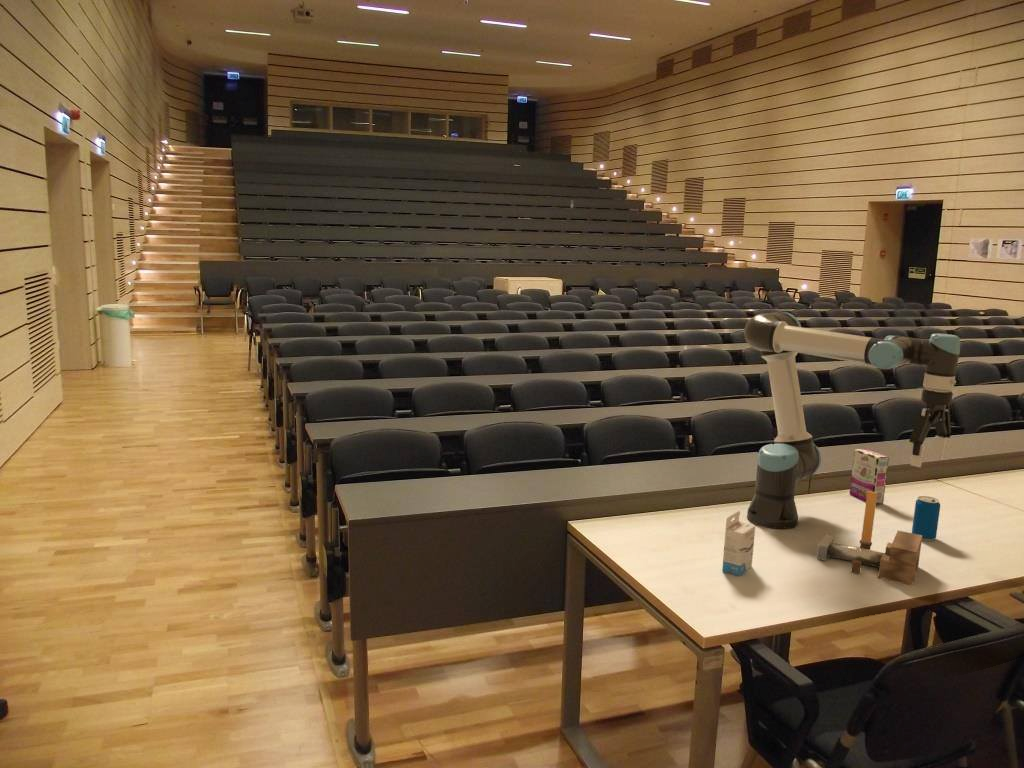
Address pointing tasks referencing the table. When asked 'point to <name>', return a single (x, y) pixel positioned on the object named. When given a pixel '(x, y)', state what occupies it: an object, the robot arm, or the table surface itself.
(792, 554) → the table surface
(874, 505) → the bar
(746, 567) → the ink box
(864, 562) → the pin
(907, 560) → the hitch block
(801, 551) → the table surface
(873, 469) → the candy bar box
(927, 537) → the beverage can
